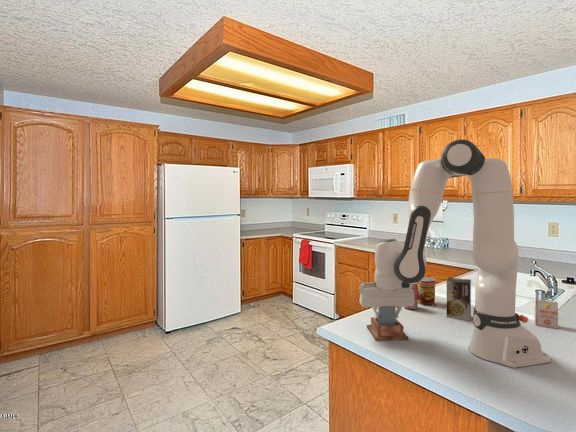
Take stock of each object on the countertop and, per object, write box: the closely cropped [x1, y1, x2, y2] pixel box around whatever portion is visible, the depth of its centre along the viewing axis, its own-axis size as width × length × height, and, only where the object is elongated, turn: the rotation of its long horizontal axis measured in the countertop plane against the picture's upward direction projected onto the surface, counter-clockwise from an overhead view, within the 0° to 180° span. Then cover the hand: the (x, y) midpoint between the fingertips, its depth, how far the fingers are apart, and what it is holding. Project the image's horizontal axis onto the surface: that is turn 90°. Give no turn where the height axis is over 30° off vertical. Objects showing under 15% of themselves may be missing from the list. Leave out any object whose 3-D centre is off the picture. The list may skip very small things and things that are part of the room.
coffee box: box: [445, 276, 472, 322], centre depth 138 cm, size 9×6×16 cm
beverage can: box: [404, 282, 419, 310], centre depth 150 cm, size 6×6×12 cm
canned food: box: [416, 276, 436, 307], centre depth 156 cm, size 8×8×12 cm
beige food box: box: [534, 299, 559, 330], centre depth 127 cm, size 4×7×10 cm, turn 59°
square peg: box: [377, 306, 397, 326], centre depth 122 cm, size 5×5×10 cm
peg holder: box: [366, 316, 409, 341], centre depth 122 cm, size 12×12×4 cm
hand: (386, 317), depth 122 cm, fingers open, 5 cm apart
